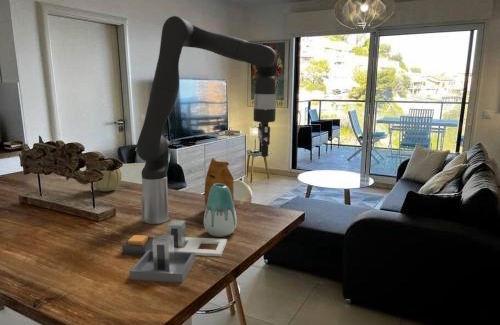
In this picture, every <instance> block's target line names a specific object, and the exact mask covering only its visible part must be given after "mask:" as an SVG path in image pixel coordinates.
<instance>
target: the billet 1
mask: <svg viewBox="0 0 500 325" xmlns="http://www.w3.org/2000/svg"><path fill="white" fill-rule="evenodd" d="M152 243H153V247H152V250H153V263H154V271H163V272H171V271H172V269H173V267H174V266H175V260H174V235H168V234H157V235H156V236H155V238H153V241H152Z"/></svg>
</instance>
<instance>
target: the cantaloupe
mask: <svg viewBox="0 0 500 325" xmlns="http://www.w3.org/2000/svg"><path fill="white" fill-rule="evenodd" d="M103 174H104V179H103V180H101V181H99V182H95V183H94V184H93V185H94V187H93V188H95V189H96V190H98V191H100V192H111V191H114V190H115V189H118V187H119V186H120V184H121V181H122V175H123V174H122V171H121V169H120V168H119V169H118V170H116V171H113V172H109V171H106V172H103Z"/></svg>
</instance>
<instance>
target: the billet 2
mask: <svg viewBox="0 0 500 325" xmlns="http://www.w3.org/2000/svg"><path fill="white" fill-rule="evenodd" d="M166 230H167V235H174V248H184V247H185V246H186V244H187V243H186V237H187V232H186V220H182V219H181V220H178V219H177V220H176V219H171V221H170V222H168V224H167V229H166Z"/></svg>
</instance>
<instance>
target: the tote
mask: <svg viewBox="0 0 500 325" xmlns="http://www.w3.org/2000/svg"><path fill="white" fill-rule="evenodd" d="M174 260H175V266H174V267H173V269H172V271H171V272H163V271H154V263H153V249H150V250H148V251H147V252H146V253H145V254H144V255H142V256H141V257H140V258H139V260H138V261H137V262H136V264H135V265H133V266H132V268H130V270H129V279H130V280H132V281H134V280H136V281H147V282H148V281H150V282H166V283H167V282H169V283H184V280H186V277H187V275H188V274H189V272H190V271H191V268H192V267H193V265H194V262H196V255H195V252H181V251H174Z"/></svg>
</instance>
